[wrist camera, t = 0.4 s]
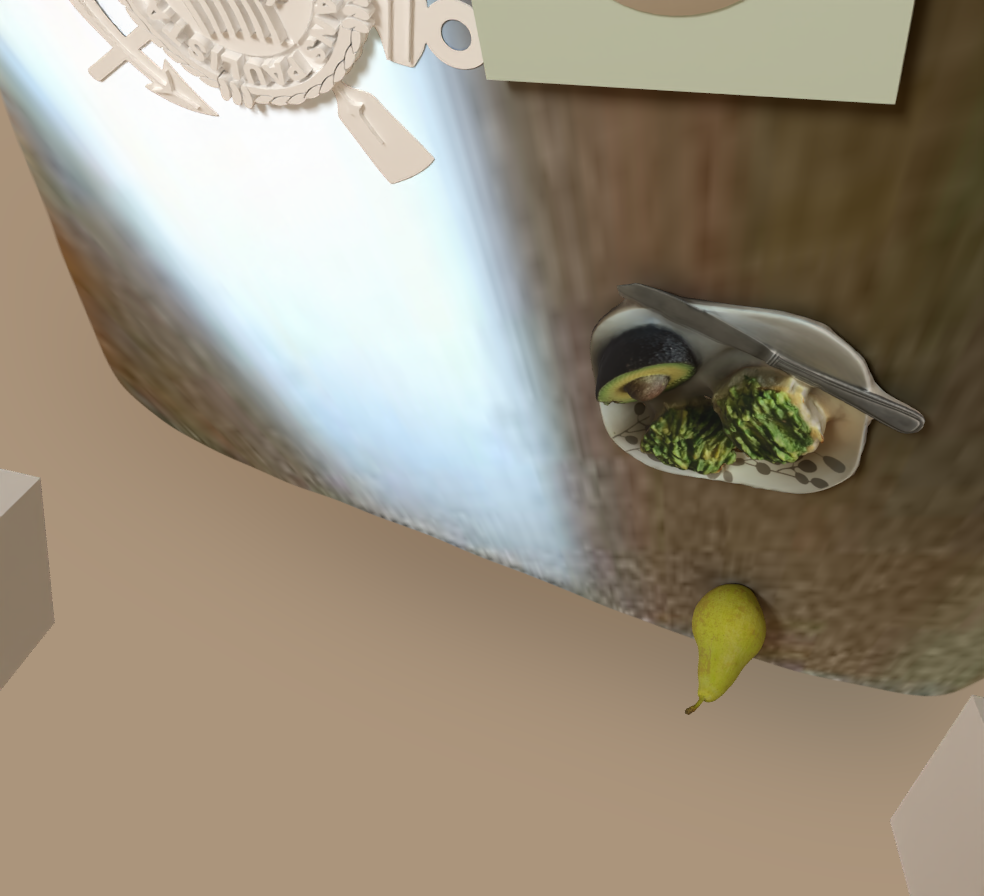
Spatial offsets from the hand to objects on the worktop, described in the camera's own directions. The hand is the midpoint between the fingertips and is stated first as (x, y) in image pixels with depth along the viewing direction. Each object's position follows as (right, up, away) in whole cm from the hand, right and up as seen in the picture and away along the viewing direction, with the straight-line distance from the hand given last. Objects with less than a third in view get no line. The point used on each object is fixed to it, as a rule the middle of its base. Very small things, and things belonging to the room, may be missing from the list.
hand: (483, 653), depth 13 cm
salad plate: (+14, +7, +44) cm, 47 cm away
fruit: (+20, -8, +63) cm, 67 cm away
